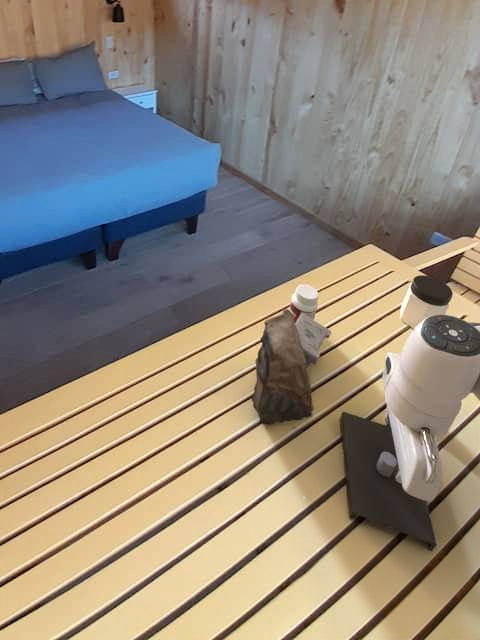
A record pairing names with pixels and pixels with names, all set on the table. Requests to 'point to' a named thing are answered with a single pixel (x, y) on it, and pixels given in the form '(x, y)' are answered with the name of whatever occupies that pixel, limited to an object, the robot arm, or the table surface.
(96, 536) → the table surface
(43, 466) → the table surface
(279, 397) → the brown rock
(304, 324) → the incense holder
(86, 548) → the table surface
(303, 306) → the pill bottle
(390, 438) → the lid
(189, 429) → the table surface
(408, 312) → the jar
